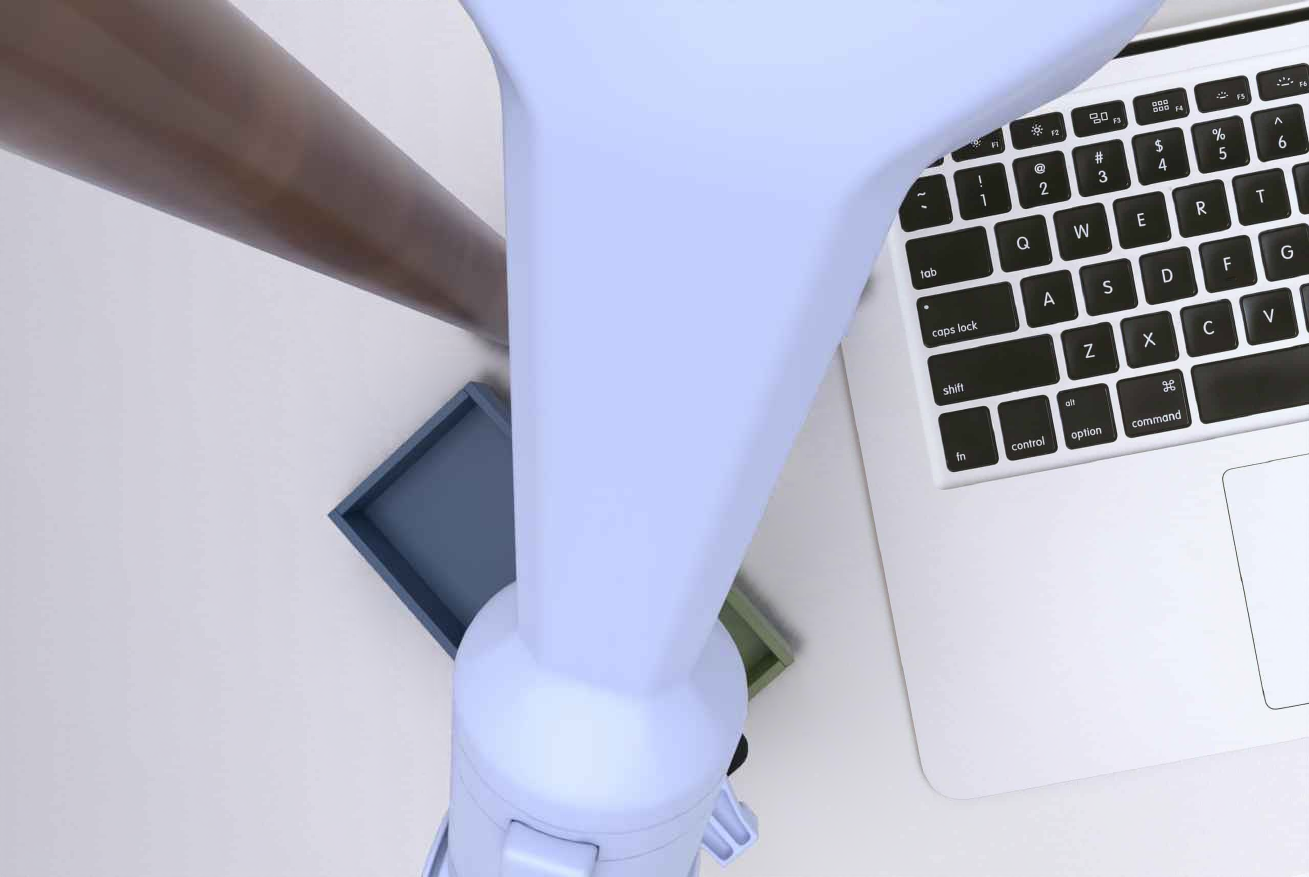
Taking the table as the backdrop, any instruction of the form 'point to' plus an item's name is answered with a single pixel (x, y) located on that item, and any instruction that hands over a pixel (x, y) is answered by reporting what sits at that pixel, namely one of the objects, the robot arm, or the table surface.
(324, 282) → the table surface
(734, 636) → the tray
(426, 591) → the tray
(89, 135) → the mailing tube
